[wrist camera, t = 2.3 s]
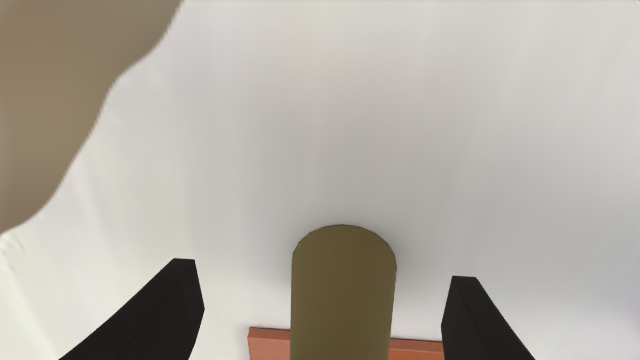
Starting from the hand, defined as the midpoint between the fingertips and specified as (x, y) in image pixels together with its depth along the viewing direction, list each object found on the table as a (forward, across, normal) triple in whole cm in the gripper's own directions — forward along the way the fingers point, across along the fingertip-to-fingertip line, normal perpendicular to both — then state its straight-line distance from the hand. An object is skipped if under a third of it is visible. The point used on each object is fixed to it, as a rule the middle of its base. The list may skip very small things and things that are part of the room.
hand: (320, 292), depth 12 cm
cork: (+10, 0, +8) cm, 13 cm away
